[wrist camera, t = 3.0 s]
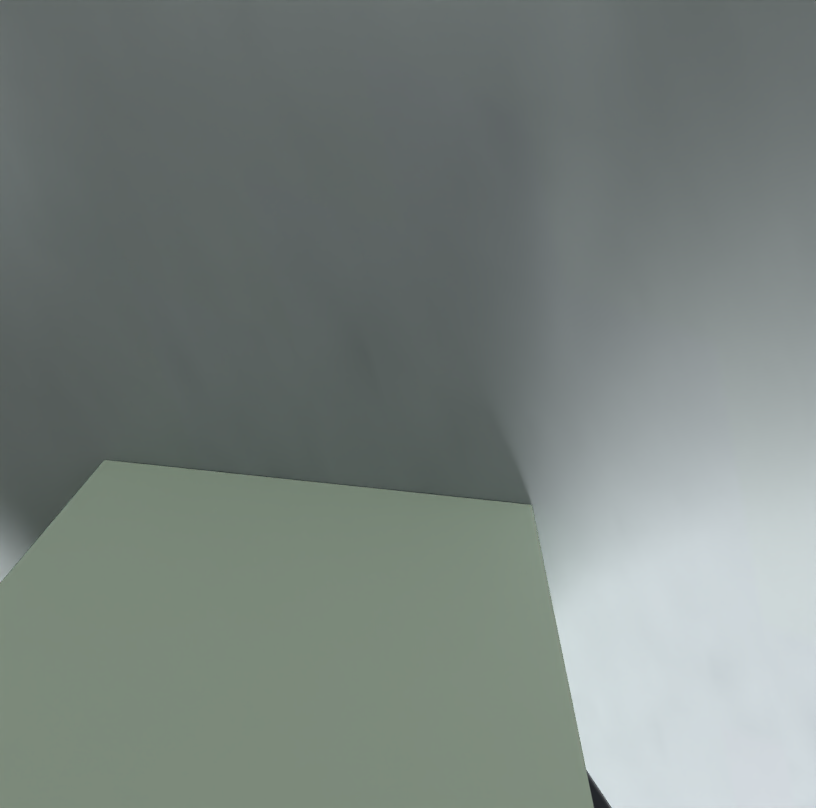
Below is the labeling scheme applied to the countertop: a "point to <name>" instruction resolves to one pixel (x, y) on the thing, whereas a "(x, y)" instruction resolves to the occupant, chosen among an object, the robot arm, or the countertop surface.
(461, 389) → the countertop surface
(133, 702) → the sage block
